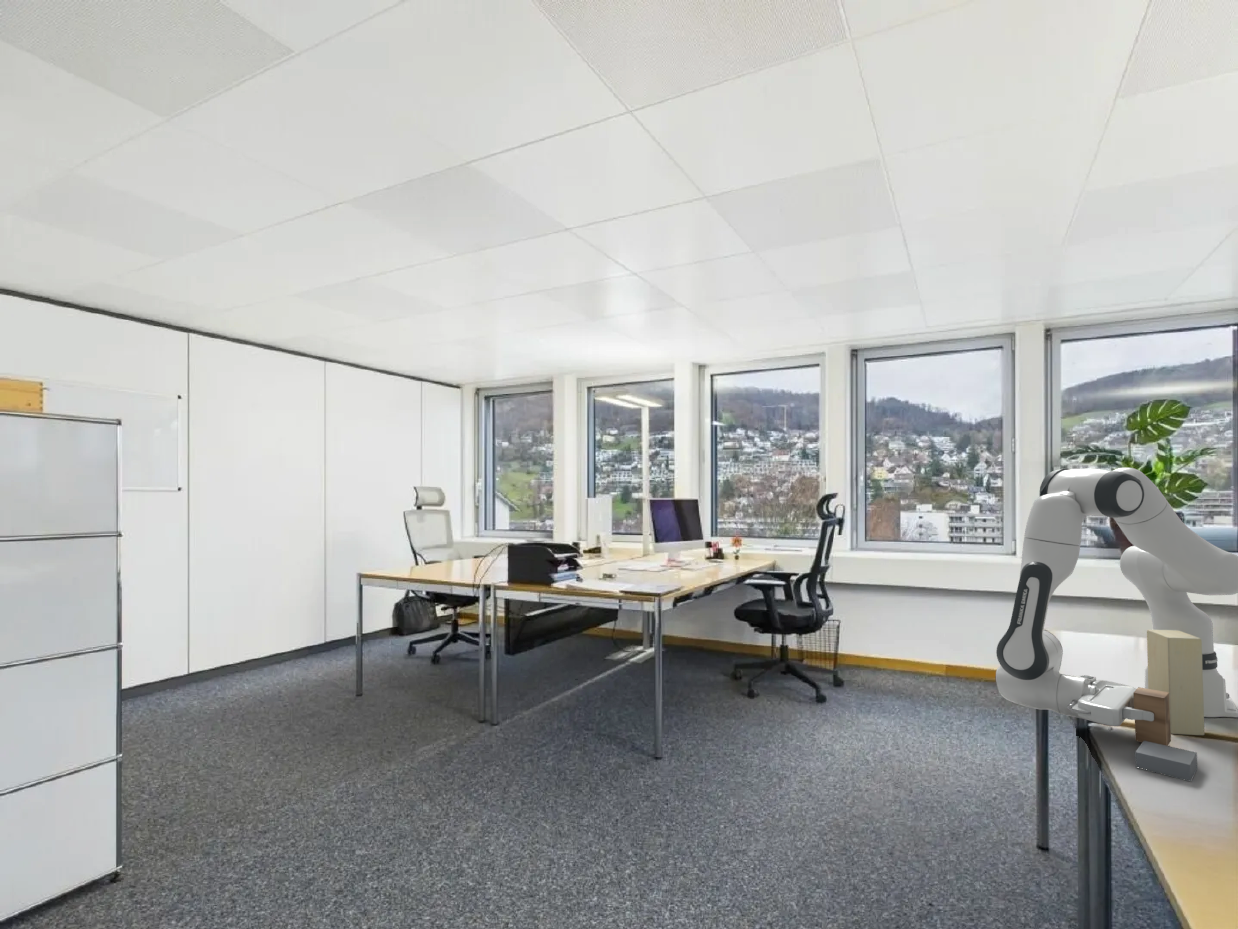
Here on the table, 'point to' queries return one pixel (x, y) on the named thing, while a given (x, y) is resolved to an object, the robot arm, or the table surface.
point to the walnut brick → (1160, 725)
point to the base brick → (1166, 760)
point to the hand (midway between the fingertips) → (1157, 712)
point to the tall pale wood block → (1178, 677)
